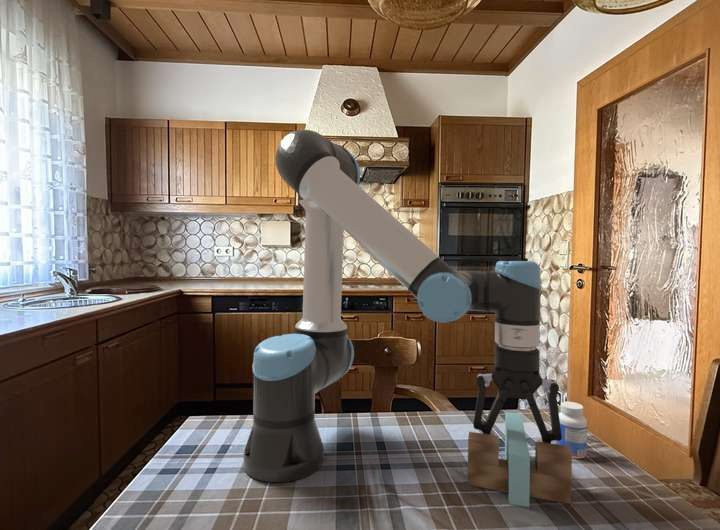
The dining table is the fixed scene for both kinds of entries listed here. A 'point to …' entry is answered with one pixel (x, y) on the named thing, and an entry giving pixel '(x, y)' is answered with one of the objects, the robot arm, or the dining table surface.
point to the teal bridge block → (517, 460)
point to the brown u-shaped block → (545, 475)
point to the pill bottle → (573, 429)
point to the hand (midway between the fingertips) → (515, 471)
